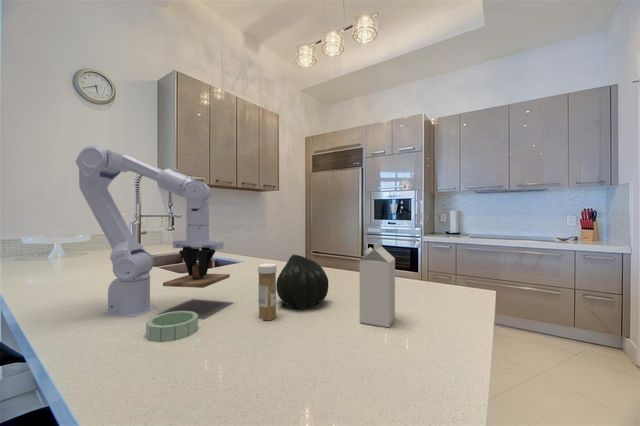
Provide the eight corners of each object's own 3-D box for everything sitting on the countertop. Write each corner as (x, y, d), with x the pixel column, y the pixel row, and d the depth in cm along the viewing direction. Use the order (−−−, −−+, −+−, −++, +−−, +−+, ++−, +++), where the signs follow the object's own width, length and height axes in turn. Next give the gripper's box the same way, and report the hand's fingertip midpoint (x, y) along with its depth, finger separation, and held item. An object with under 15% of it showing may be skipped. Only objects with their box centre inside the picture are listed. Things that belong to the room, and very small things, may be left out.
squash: (343, 288, 82) (322, 245, 90) (296, 299, 74) (277, 250, 82) (323, 312, 91) (304, 270, 99) (279, 324, 83) (263, 277, 91)
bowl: (135, 339, 62) (135, 324, 62) (170, 322, 72) (170, 309, 72) (175, 345, 59) (175, 329, 59) (207, 326, 69) (207, 313, 69)
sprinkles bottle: (279, 318, 74) (279, 264, 74) (262, 322, 72) (262, 266, 72) (271, 313, 78) (271, 262, 78) (255, 316, 76) (255, 263, 76)
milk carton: (395, 318, 75) (395, 242, 75) (389, 328, 68) (389, 245, 68) (367, 314, 78) (367, 241, 78) (359, 323, 71) (359, 244, 71)
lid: (162, 286, 77) (162, 268, 77) (193, 276, 89) (193, 261, 89) (203, 287, 74) (202, 269, 74) (229, 277, 85) (229, 261, 85)
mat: (156, 316, 76) (156, 314, 76) (192, 300, 90) (192, 299, 90) (203, 321, 73) (203, 319, 73) (234, 304, 86) (234, 302, 86)
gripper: (229, 225, 83) (229, 273, 83) (185, 224, 87) (185, 271, 87) (214, 226, 76) (214, 279, 76) (167, 225, 80) (167, 276, 80)
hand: (197, 275), depth 81 cm, fingers closed on lid, 3 cm apart
